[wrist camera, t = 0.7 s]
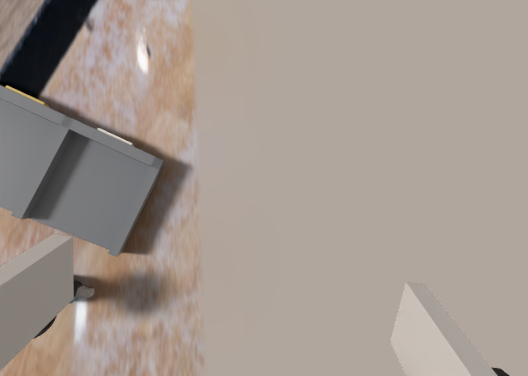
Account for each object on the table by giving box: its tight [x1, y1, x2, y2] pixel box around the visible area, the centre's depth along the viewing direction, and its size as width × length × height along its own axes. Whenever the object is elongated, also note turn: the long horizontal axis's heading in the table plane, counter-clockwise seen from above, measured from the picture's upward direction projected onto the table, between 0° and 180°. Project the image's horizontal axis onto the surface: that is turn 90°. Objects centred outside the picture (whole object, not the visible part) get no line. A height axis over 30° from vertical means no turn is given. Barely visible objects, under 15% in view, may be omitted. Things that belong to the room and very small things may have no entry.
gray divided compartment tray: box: [0, 85, 165, 257], centre depth 39 cm, size 12×22×3 cm, turn 66°
